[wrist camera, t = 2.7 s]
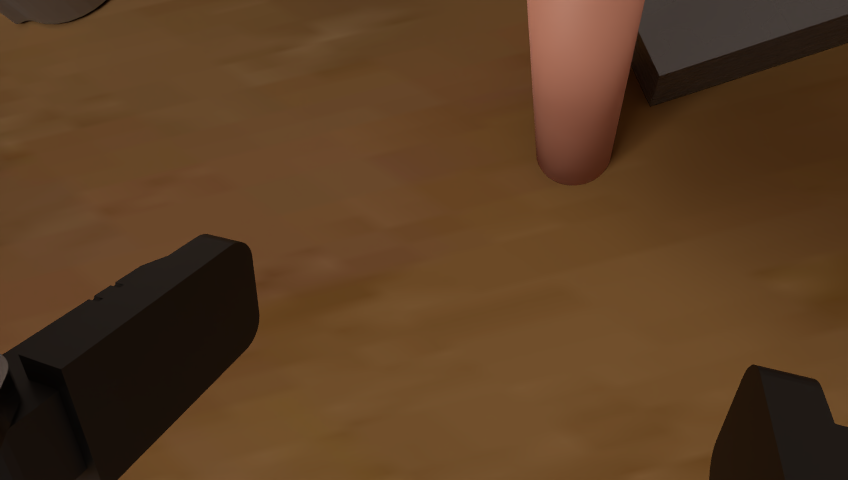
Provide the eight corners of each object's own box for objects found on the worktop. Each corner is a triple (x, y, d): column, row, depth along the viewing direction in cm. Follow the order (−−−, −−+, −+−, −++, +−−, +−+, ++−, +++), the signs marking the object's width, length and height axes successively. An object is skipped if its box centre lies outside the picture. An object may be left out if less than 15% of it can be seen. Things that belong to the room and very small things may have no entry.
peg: (549, 194, 26) (546, 24, 15) (527, 132, 27) (509, -68, 16) (622, 171, 26) (674, -20, 15) (596, 110, 27) (627, -111, 16)
